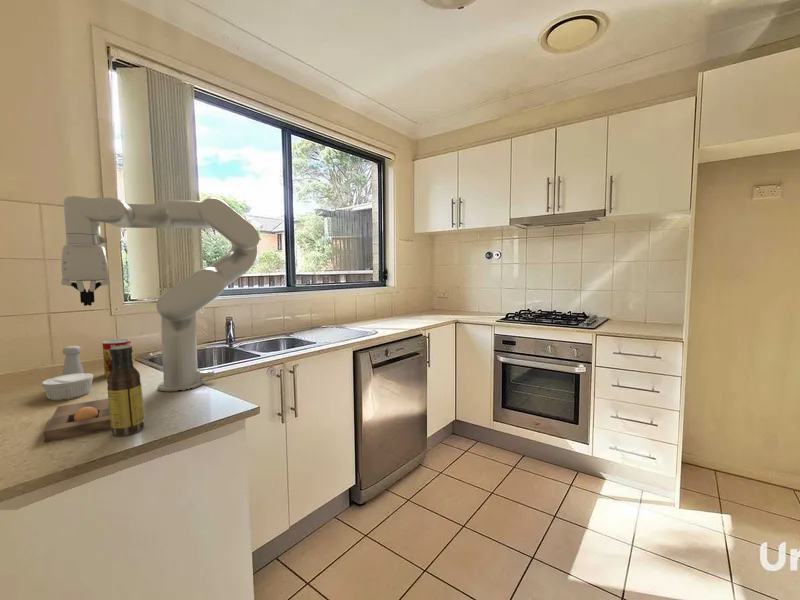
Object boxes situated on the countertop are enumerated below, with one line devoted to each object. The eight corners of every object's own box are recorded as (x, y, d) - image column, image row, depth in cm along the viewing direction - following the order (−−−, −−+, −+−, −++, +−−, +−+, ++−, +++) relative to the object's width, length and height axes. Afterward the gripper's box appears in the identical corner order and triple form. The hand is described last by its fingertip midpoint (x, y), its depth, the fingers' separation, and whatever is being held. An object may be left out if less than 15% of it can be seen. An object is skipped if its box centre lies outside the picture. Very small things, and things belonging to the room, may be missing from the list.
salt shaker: (71, 389, 113) (68, 348, 112) (56, 388, 114) (53, 347, 113) (90, 384, 119) (88, 345, 118) (76, 383, 120) (74, 344, 119)
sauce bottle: (141, 423, 89) (137, 342, 87) (147, 431, 84) (143, 346, 83) (107, 431, 84) (102, 346, 82) (113, 440, 80) (107, 350, 78)
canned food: (117, 377, 127) (116, 343, 126) (98, 376, 128) (96, 342, 127) (137, 371, 134) (135, 339, 133) (119, 370, 136) (117, 338, 135)
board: (126, 404, 101) (126, 395, 101) (125, 426, 87) (124, 416, 87) (58, 415, 93) (58, 406, 93) (44, 442, 79) (43, 431, 78)
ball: (79, 429, 84) (84, 429, 88) (100, 416, 87) (104, 417, 91) (67, 415, 84) (72, 415, 88) (88, 402, 87) (93, 403, 90)
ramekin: (33, 403, 102) (31, 385, 101) (58, 391, 112) (57, 374, 112) (81, 400, 105) (80, 382, 104) (101, 388, 115) (100, 371, 115)
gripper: (117, 243, 111) (120, 303, 113) (50, 240, 102) (54, 305, 104) (116, 242, 105) (120, 305, 107) (45, 239, 96) (50, 307, 98)
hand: (87, 305), depth 105 cm, fingers closed
